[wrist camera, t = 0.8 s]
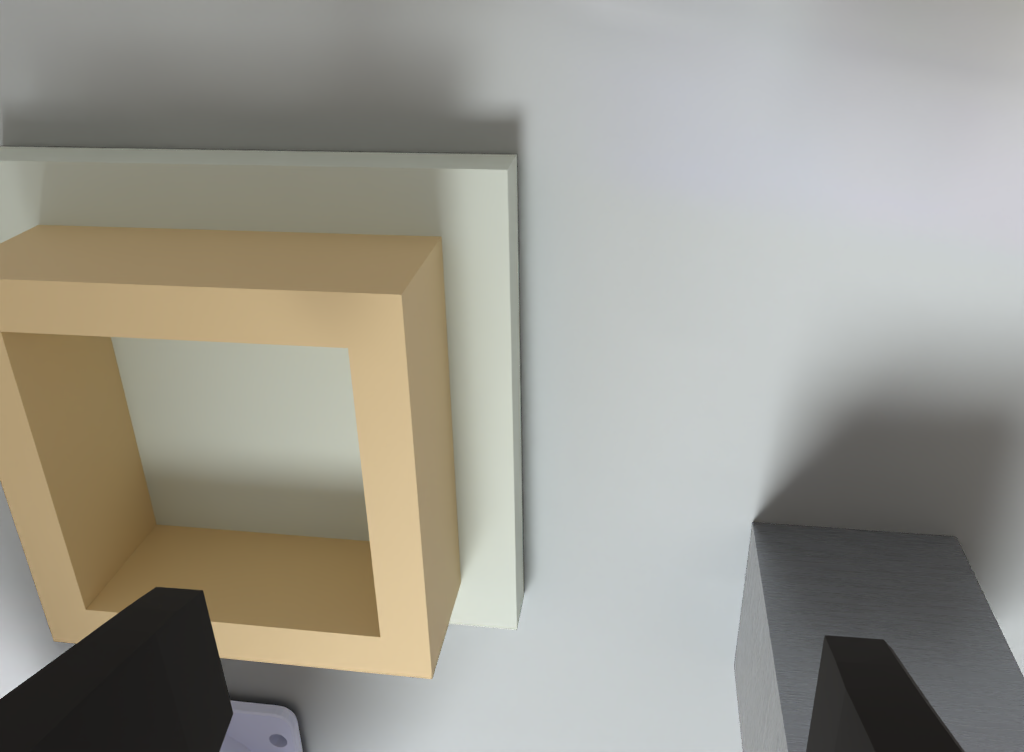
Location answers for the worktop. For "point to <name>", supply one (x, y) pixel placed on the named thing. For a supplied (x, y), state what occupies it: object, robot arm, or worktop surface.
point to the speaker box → (870, 631)
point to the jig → (266, 393)
